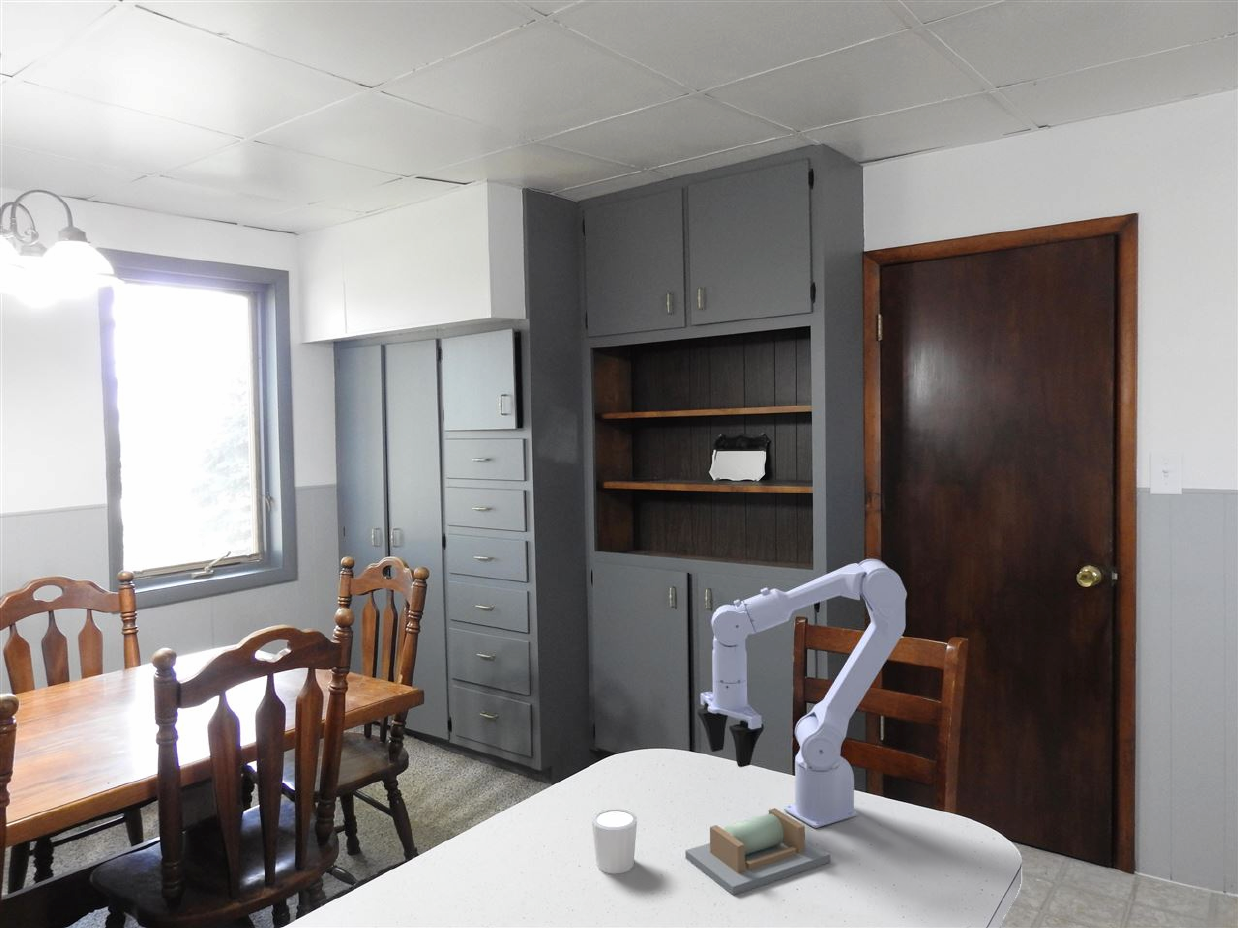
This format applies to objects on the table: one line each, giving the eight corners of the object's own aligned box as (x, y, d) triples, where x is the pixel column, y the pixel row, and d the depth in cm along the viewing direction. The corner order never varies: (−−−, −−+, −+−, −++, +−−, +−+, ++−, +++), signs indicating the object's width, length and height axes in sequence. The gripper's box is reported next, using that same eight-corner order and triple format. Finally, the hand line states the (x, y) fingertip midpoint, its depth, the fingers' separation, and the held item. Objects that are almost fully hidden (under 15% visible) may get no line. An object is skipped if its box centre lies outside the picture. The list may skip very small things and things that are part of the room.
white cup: (633, 877, 129) (632, 830, 129) (587, 873, 130) (586, 826, 130) (641, 854, 136) (641, 809, 135) (597, 850, 137) (597, 806, 137)
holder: (778, 829, 143) (778, 798, 143) (830, 861, 133) (830, 828, 132) (685, 857, 135) (685, 824, 134) (732, 894, 124) (732, 858, 124)
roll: (769, 843, 137) (762, 813, 139) (787, 844, 134) (780, 813, 135) (726, 857, 133) (719, 825, 135) (742, 858, 130) (735, 826, 131)
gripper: (685, 671, 153) (686, 748, 153) (736, 693, 140) (736, 777, 141) (719, 664, 156) (719, 740, 157) (771, 686, 143) (771, 768, 144)
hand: (730, 757), depth 149 cm, fingers open, 7 cm apart
